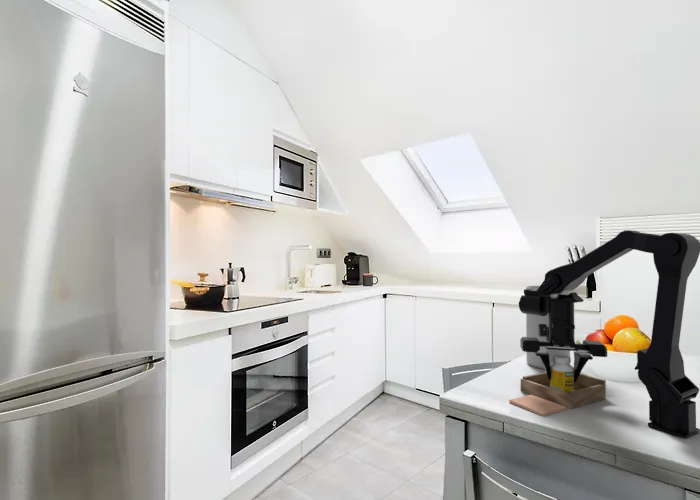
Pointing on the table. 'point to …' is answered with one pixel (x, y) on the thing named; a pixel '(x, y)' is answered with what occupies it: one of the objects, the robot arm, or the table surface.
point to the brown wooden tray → (584, 392)
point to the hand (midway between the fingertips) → (561, 380)
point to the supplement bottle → (562, 374)
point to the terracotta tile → (537, 405)
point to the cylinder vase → (532, 331)
